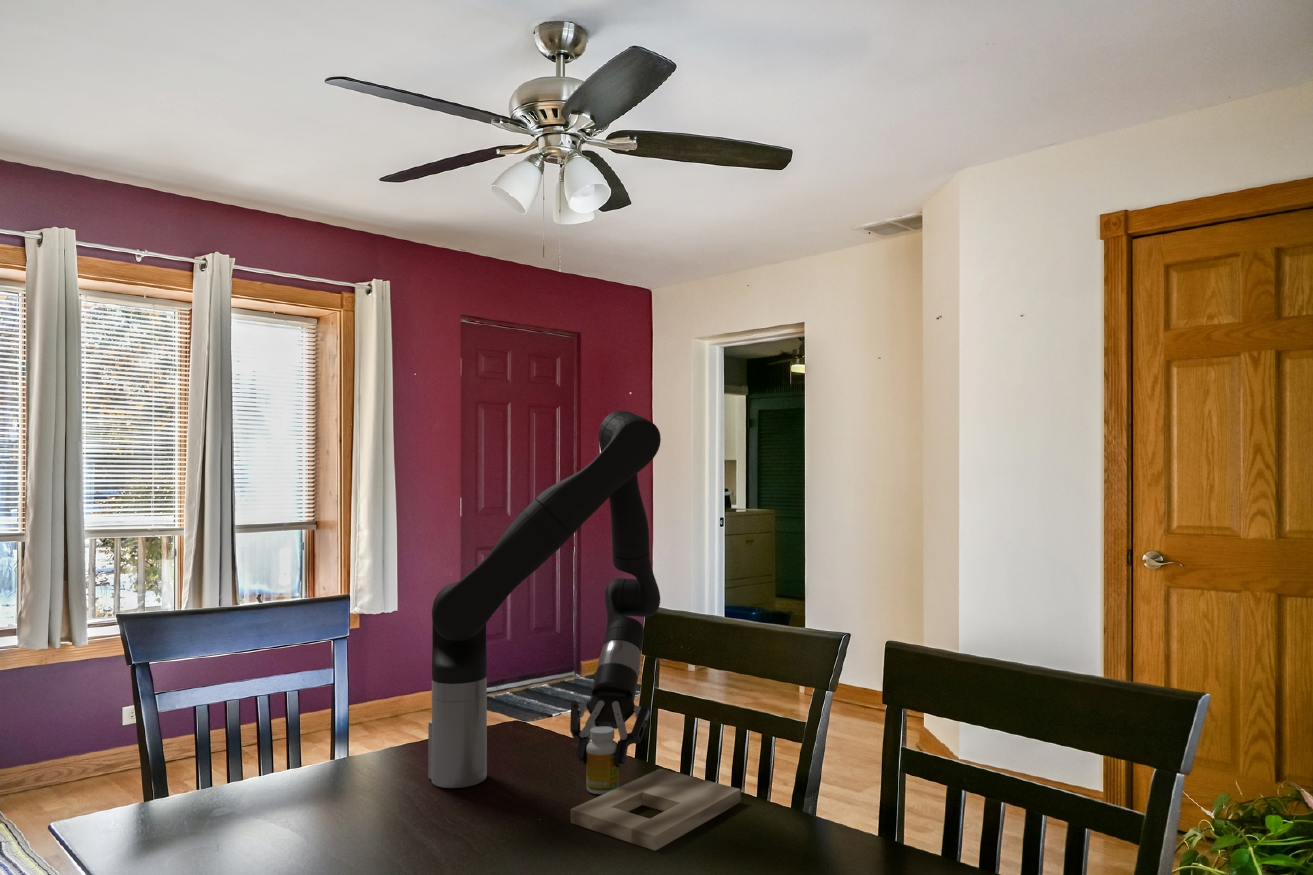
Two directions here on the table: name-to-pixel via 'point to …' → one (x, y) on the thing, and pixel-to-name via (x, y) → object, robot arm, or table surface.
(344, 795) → the table surface
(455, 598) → the robot arm
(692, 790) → the socket board
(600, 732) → the supplement bottle
